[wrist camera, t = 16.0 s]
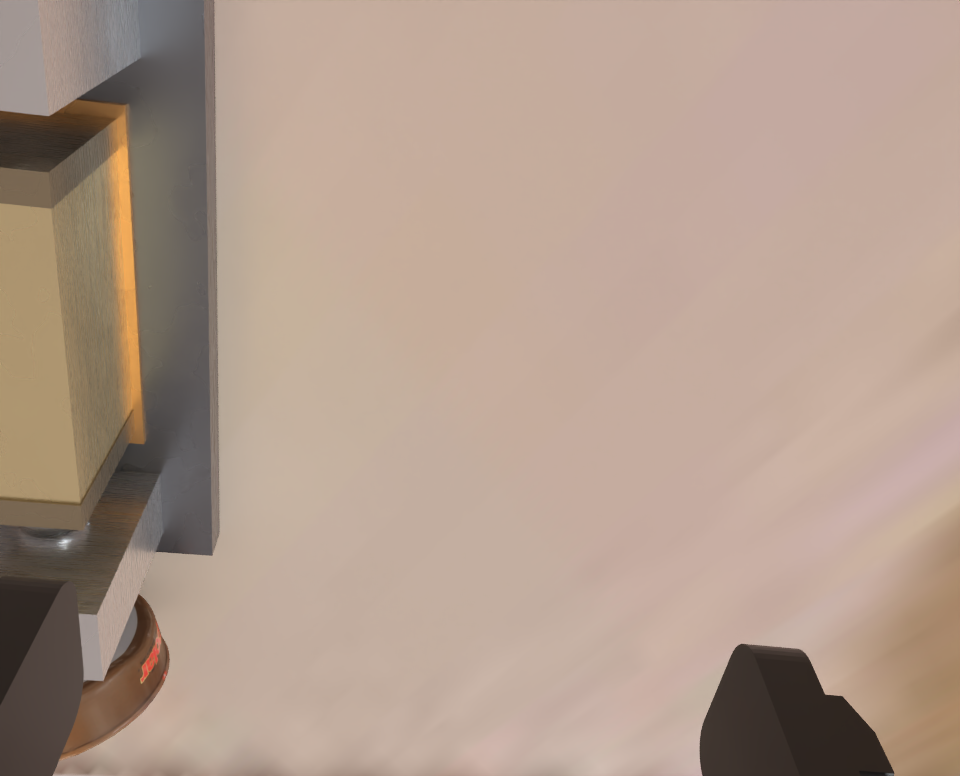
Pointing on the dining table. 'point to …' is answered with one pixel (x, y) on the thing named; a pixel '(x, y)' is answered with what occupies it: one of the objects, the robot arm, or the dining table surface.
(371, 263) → the dining table surface
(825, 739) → the robot arm
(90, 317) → the block
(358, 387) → the dining table surface
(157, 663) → the tin
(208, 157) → the stand
